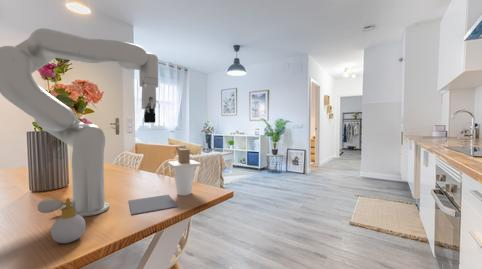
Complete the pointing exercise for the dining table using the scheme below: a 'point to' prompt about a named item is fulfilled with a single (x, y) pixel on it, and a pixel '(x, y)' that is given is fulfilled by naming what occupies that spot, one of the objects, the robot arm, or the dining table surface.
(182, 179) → the foam cup
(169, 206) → the mat
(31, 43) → the robot arm
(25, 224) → the dining table surface
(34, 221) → the dining table surface
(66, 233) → the perfume bottle
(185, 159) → the lid
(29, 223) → the dining table surface
